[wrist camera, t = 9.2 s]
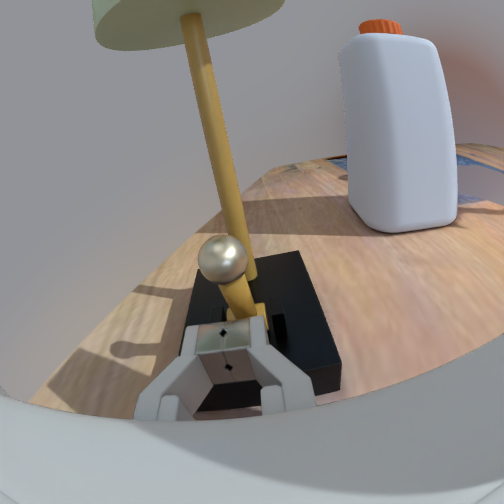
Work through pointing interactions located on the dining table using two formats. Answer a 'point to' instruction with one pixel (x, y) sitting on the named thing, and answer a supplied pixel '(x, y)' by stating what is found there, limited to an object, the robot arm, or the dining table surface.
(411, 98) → the plastic bottle
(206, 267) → the lamp switch
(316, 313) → the lamp
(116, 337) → the dining table surface
